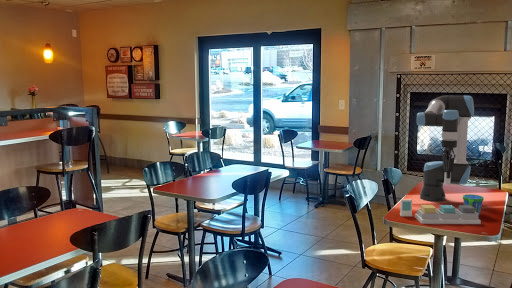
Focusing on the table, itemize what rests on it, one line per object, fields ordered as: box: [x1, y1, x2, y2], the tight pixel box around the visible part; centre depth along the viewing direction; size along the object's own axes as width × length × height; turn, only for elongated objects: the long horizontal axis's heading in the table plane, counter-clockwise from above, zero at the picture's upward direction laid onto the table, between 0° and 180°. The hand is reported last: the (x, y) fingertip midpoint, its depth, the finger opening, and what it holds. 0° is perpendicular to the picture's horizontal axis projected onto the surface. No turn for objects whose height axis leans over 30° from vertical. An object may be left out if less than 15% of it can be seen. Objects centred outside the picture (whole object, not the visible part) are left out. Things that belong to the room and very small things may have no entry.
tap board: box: [414, 208, 482, 225], centre depth 249 cm, size 12×30×5 cm, turn 87°
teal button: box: [439, 204, 456, 213], centre depth 249 cm, size 6×6×4 cm
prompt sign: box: [399, 198, 413, 217], centre depth 258 cm, size 3×6×9 cm, turn 87°
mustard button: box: [420, 204, 437, 213], centre depth 249 cm, size 6×6×4 cm
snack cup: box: [462, 194, 485, 215], centre depth 260 cm, size 16×10×10 cm
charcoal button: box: [458, 204, 475, 213], centre depth 248 cm, size 6×6×4 cm
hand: (447, 184), depth 248 cm, fingers closed
